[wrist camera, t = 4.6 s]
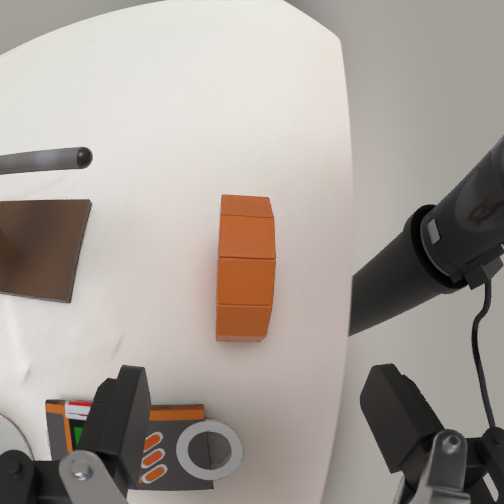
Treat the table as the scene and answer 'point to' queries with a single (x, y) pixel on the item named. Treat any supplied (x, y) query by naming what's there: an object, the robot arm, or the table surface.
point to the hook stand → (42, 230)
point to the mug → (12, 438)
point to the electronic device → (156, 444)
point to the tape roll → (245, 268)
